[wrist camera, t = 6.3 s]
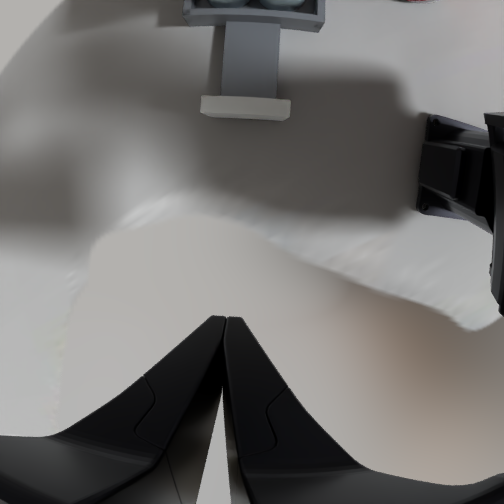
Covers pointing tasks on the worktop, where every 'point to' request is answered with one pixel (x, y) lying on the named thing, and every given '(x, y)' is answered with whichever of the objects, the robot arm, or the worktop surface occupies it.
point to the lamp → (251, 55)
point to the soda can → (423, 1)
